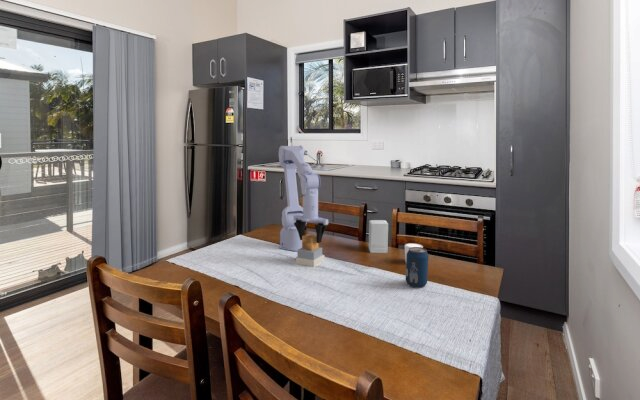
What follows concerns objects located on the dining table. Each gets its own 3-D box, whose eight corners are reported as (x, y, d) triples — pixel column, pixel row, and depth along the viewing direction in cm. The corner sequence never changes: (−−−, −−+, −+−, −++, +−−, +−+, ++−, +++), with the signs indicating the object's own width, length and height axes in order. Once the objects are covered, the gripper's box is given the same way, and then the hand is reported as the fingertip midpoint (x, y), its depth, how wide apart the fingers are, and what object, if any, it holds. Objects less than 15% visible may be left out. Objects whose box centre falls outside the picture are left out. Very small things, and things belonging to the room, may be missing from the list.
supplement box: (387, 253, 163) (388, 223, 161) (369, 253, 164) (370, 223, 161) (385, 248, 171) (386, 219, 169) (368, 248, 171) (368, 219, 169)
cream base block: (295, 264, 150) (295, 257, 150) (307, 259, 157) (307, 251, 156) (313, 268, 146) (313, 260, 146) (324, 262, 153) (324, 254, 153)
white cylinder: (422, 266, 147) (423, 248, 146) (403, 265, 148) (404, 247, 147) (421, 260, 154) (422, 243, 153) (403, 259, 155) (404, 242, 154)
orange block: (302, 248, 150) (302, 236, 149) (309, 246, 154) (309, 233, 153) (311, 250, 148) (311, 237, 147) (318, 248, 151) (318, 235, 150)
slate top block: (297, 257, 149) (297, 249, 149) (306, 252, 155) (306, 245, 155) (313, 260, 146) (313, 252, 146) (322, 255, 152) (322, 247, 152)
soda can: (423, 280, 133) (425, 246, 131) (429, 288, 126) (431, 252, 124) (403, 280, 133) (404, 246, 131) (408, 288, 126) (409, 252, 124)
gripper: (288, 205, 148) (289, 240, 151) (321, 209, 141) (321, 246, 143) (299, 203, 154) (299, 236, 157) (331, 206, 147) (330, 241, 149)
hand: (310, 241), depth 150 cm, fingers open, 7 cm apart
